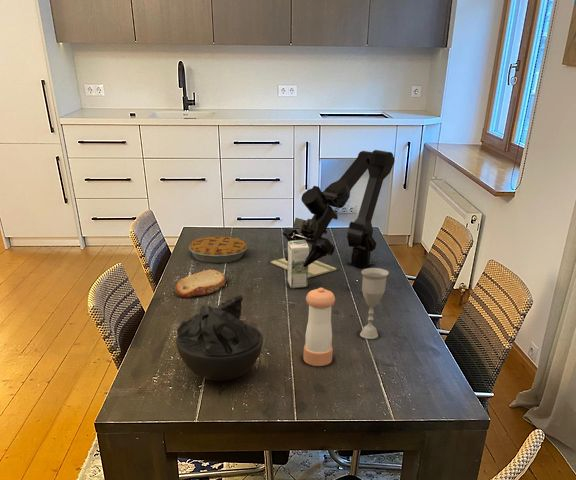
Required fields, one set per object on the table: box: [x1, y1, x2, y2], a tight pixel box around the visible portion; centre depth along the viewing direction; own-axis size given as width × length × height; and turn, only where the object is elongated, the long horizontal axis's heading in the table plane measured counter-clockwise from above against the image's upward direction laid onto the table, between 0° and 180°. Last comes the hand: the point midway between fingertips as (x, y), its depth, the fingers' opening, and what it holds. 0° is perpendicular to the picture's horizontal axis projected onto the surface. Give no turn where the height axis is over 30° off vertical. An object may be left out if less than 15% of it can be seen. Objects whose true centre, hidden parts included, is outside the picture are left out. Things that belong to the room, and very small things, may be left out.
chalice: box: [359, 267, 390, 340], centre depth 157 cm, size 7×7×18 cm
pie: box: [188, 235, 248, 264], centre depth 218 cm, size 22×22×5 cm
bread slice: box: [174, 269, 227, 299], centre depth 190 cm, size 18×18×4 cm
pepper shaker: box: [302, 287, 336, 367], centre depth 144 cm, size 7×7×19 cm
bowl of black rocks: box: [175, 294, 264, 382], centre depth 136 cm, size 20×20×19 cm
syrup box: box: [287, 240, 310, 290], centre depth 189 cm, size 6×6×14 cm
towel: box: [270, 257, 338, 279], centre depth 210 cm, size 14×20×1 cm
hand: (295, 263), depth 188 cm, fingers closed on syrup box, 8 cm apart
